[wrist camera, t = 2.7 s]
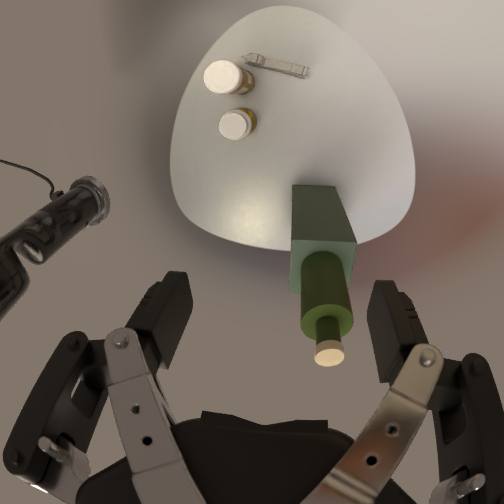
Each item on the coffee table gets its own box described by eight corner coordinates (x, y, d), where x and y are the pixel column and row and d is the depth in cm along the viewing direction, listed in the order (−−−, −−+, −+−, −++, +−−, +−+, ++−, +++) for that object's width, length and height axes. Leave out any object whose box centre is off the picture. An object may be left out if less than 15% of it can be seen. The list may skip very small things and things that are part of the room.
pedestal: (291, 223, 52) (288, 292, 35) (292, 184, 48) (291, 239, 31) (331, 225, 51) (347, 294, 34) (334, 186, 47) (357, 242, 30)
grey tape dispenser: (304, 78, 38) (244, 63, 38) (306, 71, 37) (246, 56, 37) (307, 76, 33) (238, 59, 33) (309, 67, 32) (240, 51, 32)
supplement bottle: (260, 130, 43) (254, 136, 36) (234, 138, 45) (222, 147, 38) (251, 104, 41) (242, 105, 34) (224, 113, 43) (210, 116, 35)
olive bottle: (299, 285, 34) (297, 373, 23) (301, 249, 31) (302, 337, 20) (339, 286, 33) (352, 374, 22) (345, 251, 31) (365, 338, 20)
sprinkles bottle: (257, 72, 38) (244, 63, 27) (250, 97, 41) (234, 97, 29) (230, 67, 38) (207, 56, 27) (224, 91, 41) (198, 90, 29)
